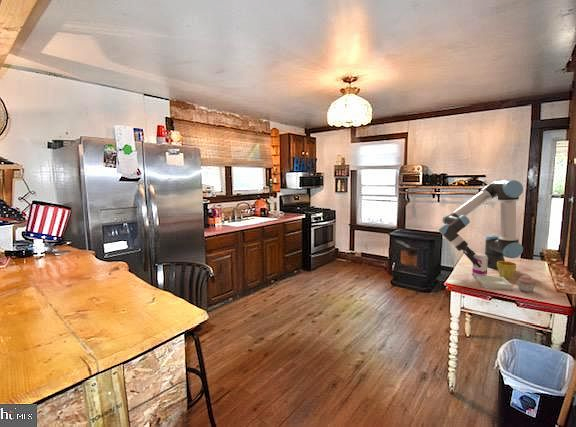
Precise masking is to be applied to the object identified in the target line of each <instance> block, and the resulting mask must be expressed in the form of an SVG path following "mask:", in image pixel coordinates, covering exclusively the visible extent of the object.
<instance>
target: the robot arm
mask: <svg viewBox="0 0 576 427" xmlns="http://www.w3.org/2000/svg"><path fill="white" fill-rule="evenodd" d="M523 193H524V186H523V184H522V183H521V182H520V181H518V180H516V179H515V180H514V179H496V180H494V181H491V182H490V183H488V184H487V185H485V186H484V187H482V188H481V189H480V191H479V192H478V193H477V194H475V195H474V196H473V197H472V198H470V199H469V200H468V201H466V202H465V203H463V204H461V206H459V207H458V208H456V209H455V210H454V211H453V212H451V213H450V214H445V215H444V216H443V217H442V219H441V220H442V223H443V225H442V226H441V227H440V228H439V229H438V231H439V233H440V234H441V235H442V236H443V237H444V238H445V239H446V240H447V241H448V242H449V243H450V244H451V245H452V246H453V247H454V248H455V249H456V250H457V251H458V252H460V251H462V253H463V254H464V256H466V257H467V258H468V260H470V262H471V263H472V266H473V265H474V264H475V265H476V266H477V267H478V268H479V269H480V270H481V271H482V272H483V271H485V270H486V268H484V267H483V266H482V265H481V264H480V263H479V262H478V261H477V260H476V259H475V258H474V254H477V253H476V252H474V251H473V250H472V249H471V248H470V247H469V246H468V245H469V243H468V242H467V241H466V240H464V238H463V237H462V236H460V234H458V233H459V232H461V231H462V230H463V229H464V228H466V227H467V226H468V225H469V224H470V222H471V221H470V219H469V218H468V217H467V215H469V214H471V213H472V212H474V211H475V210H476V209H478V208H479V207H481V206H482V205H483V204H484V203H485V202H487V201H488V200H489V201H490V200H492V199H494V198H496V197H497V201H499V202H500V235H490V234H489V235H487V236H486V237H485V244H484V245H485V246H484V255H487V257H488V265H487V268H490V269H498V267H497V262H498V261H506V260H505V258H508V259H517V258H518V257H519V256H521V255H522V254H523V252H524V251H523V250H524V247H523V245H522V244H521V243H520V242H519V241H520V238H519V237H518V236H517V201H519V200H520V199H519V198H520V196H521V195H522V194H523Z"/></svg>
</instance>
